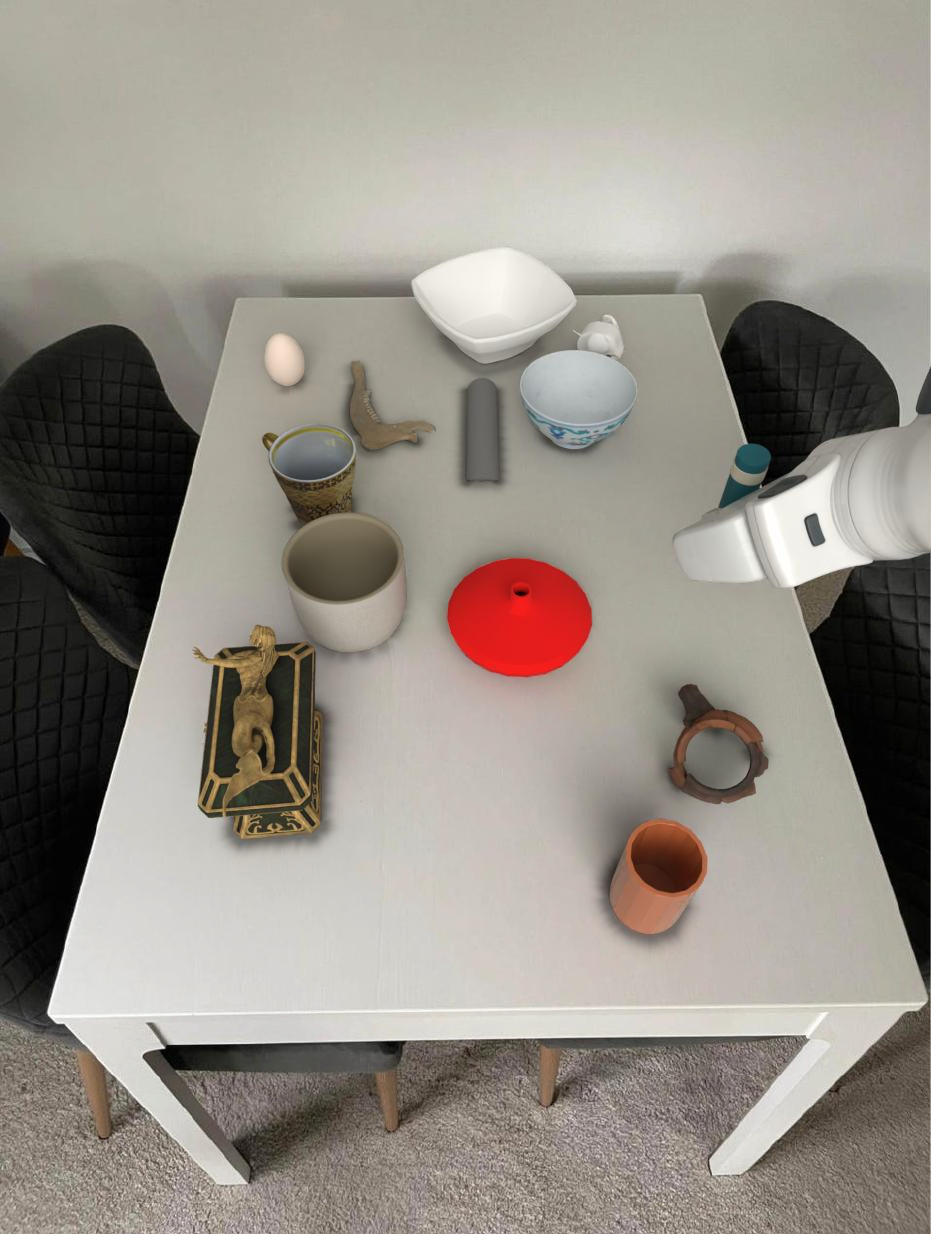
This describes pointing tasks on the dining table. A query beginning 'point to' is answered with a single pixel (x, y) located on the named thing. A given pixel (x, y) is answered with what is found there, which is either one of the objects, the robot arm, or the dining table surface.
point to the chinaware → (577, 396)
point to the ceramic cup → (314, 469)
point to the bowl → (493, 301)
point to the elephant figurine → (602, 338)
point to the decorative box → (263, 738)
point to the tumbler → (657, 875)
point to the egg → (284, 359)
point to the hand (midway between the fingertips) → (726, 512)
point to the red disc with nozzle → (519, 617)
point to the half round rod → (482, 431)
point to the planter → (346, 580)
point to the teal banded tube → (745, 473)
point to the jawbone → (369, 422)
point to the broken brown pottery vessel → (707, 717)
